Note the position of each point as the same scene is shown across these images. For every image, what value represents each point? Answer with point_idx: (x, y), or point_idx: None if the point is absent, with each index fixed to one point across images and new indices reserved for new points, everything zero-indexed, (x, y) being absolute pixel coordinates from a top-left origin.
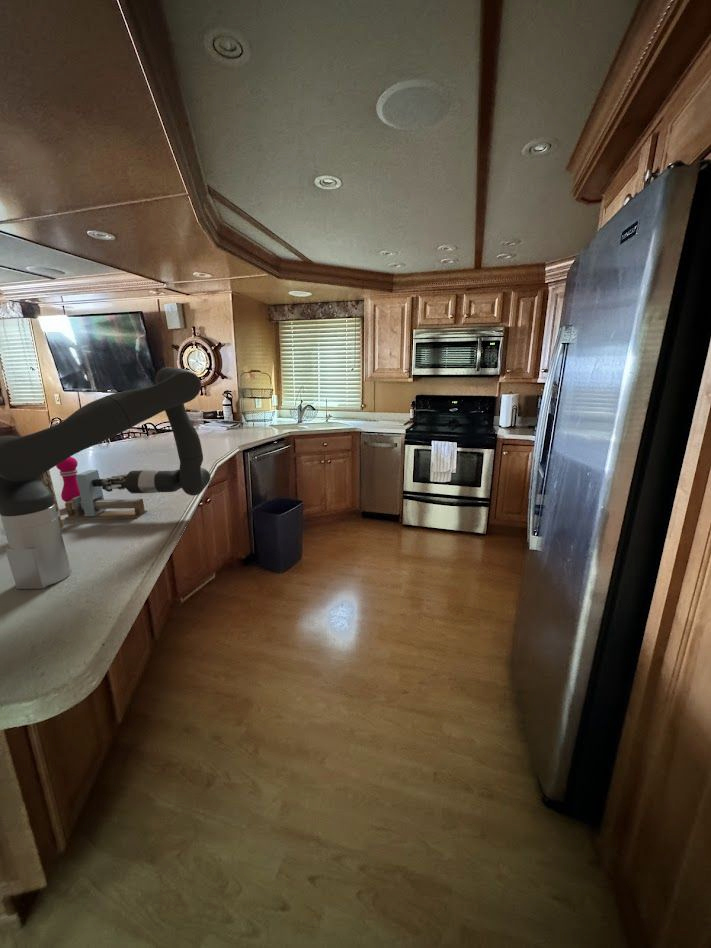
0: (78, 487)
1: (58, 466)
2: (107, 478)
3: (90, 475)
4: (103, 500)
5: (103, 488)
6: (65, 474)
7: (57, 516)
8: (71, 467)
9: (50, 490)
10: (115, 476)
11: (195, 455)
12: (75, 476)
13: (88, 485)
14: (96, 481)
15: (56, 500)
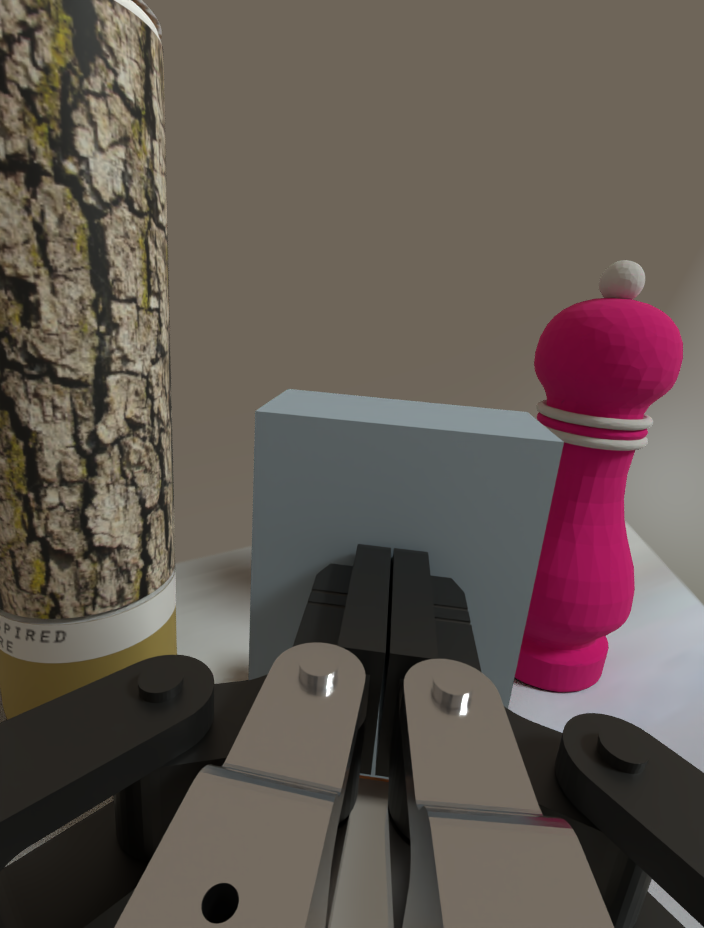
0: (570, 549)
1: (535, 353)
2: (435, 686)
3: (360, 462)
4: (368, 883)
5: (44, 848)
6: (542, 422)
7: (37, 656)
8: (587, 382)
9: (2, 426)
10: (526, 865)
11: None
12: (598, 465)
13: (271, 577)
14: (337, 593)
15: (77, 538)
